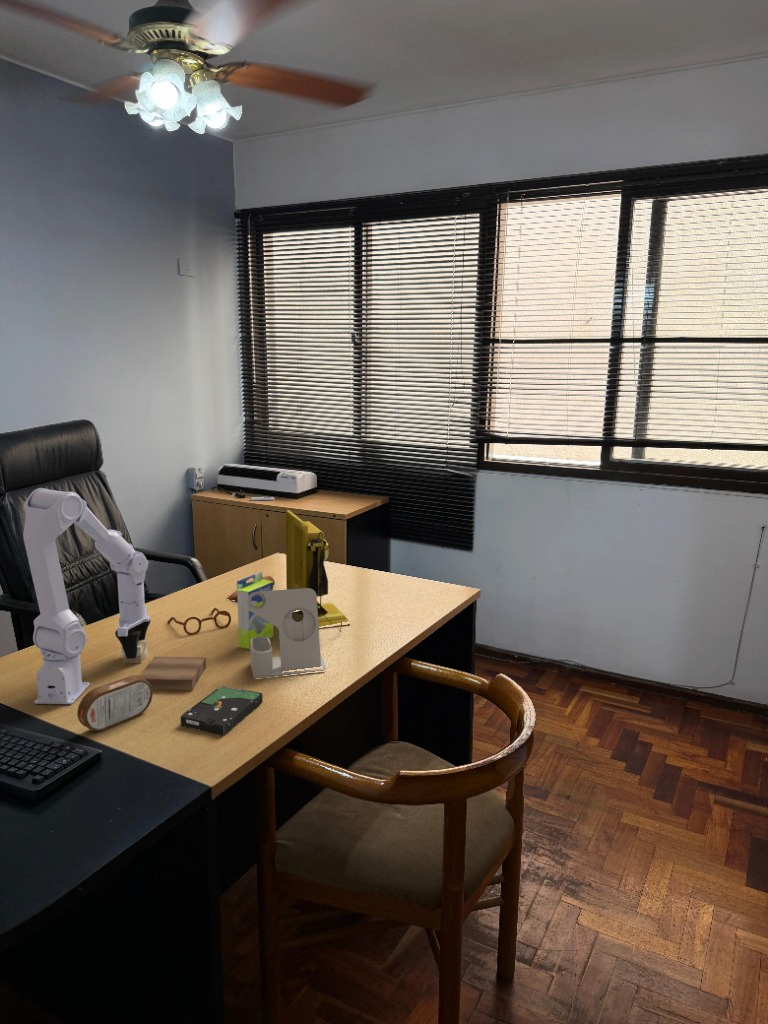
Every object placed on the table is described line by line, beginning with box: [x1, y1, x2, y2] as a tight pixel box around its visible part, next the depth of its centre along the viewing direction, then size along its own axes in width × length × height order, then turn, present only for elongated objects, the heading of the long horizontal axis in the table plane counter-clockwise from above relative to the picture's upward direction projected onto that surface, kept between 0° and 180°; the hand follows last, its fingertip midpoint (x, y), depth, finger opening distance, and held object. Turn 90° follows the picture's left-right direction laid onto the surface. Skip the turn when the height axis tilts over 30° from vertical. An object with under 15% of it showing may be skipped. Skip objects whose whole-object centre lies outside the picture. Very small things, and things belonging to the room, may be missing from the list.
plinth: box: [139, 656, 207, 691], centre depth 159 cm, size 12×12×2 cm
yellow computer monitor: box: [285, 509, 349, 633], centre depth 194 cm, size 31×14×30 cm, turn 22°
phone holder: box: [247, 588, 328, 679], centre depth 165 cm, size 17×10×18 cm, turn 105°
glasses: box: [167, 607, 232, 636], centre depth 192 cm, size 13×13×5 cm
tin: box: [76, 674, 154, 732], centre depth 139 cm, size 15×3×8 cm, turn 141°
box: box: [236, 571, 274, 650], centre depth 179 cm, size 10×4×17 cm, turn 152°
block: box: [121, 639, 149, 664], centre depth 169 cm, size 4×4×4 cm
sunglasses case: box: [226, 575, 276, 602], centre depth 218 cm, size 18×7×7 cm
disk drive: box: [180, 685, 264, 736], centre depth 144 cm, size 10×3×15 cm
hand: (134, 653), depth 169 cm, fingers closed on block, 4 cm apart
